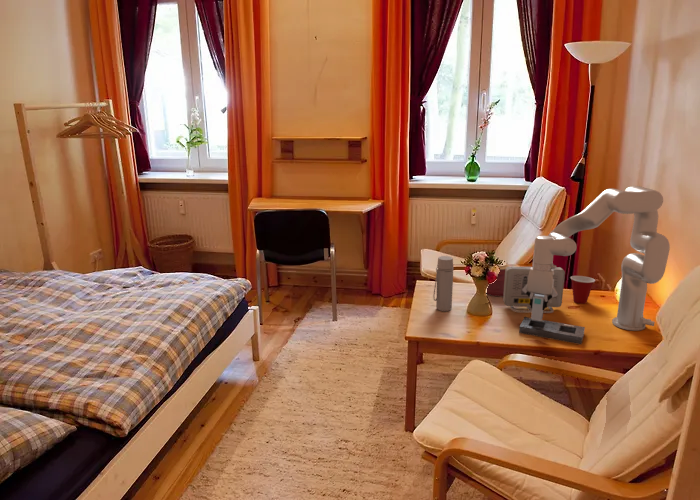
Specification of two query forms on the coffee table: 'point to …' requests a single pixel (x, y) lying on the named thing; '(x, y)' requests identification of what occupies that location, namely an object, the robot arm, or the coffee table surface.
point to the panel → (552, 330)
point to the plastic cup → (581, 288)
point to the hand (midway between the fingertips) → (537, 307)
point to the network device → (516, 297)
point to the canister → (498, 282)
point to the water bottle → (444, 283)
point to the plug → (537, 307)
